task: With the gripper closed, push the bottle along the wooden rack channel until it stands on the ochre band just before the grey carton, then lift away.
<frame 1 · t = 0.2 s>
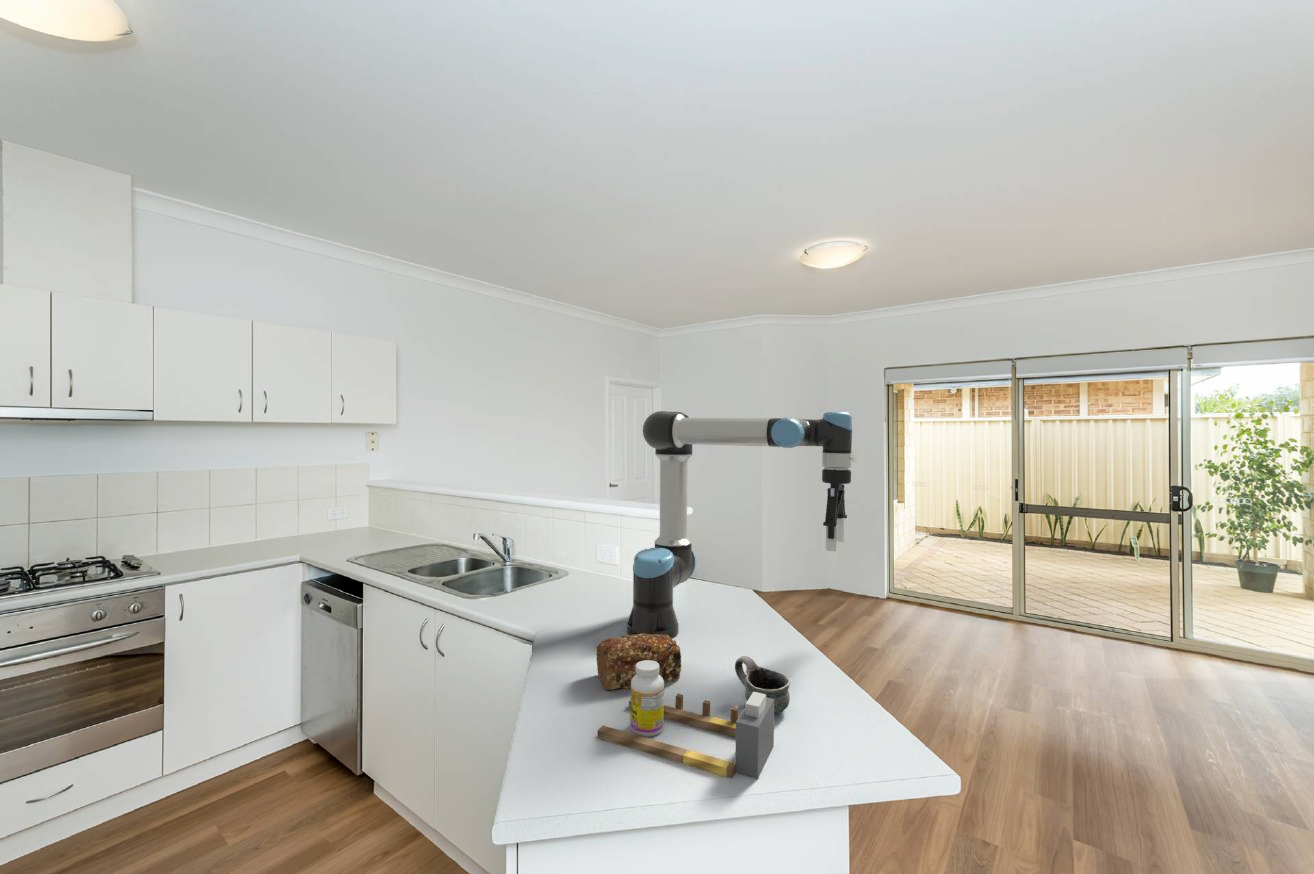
hand: (835, 546, 151), 28 cm above the counter, fingers open, 13 cm apart
grey carton: (755, 759, 100), on the counter
wooden rack: (676, 737, 107), on the counter
mug: (760, 709, 118), on the counter
supplement bottle: (646, 729, 109), on the counter
bread: (638, 679, 132), on the counter
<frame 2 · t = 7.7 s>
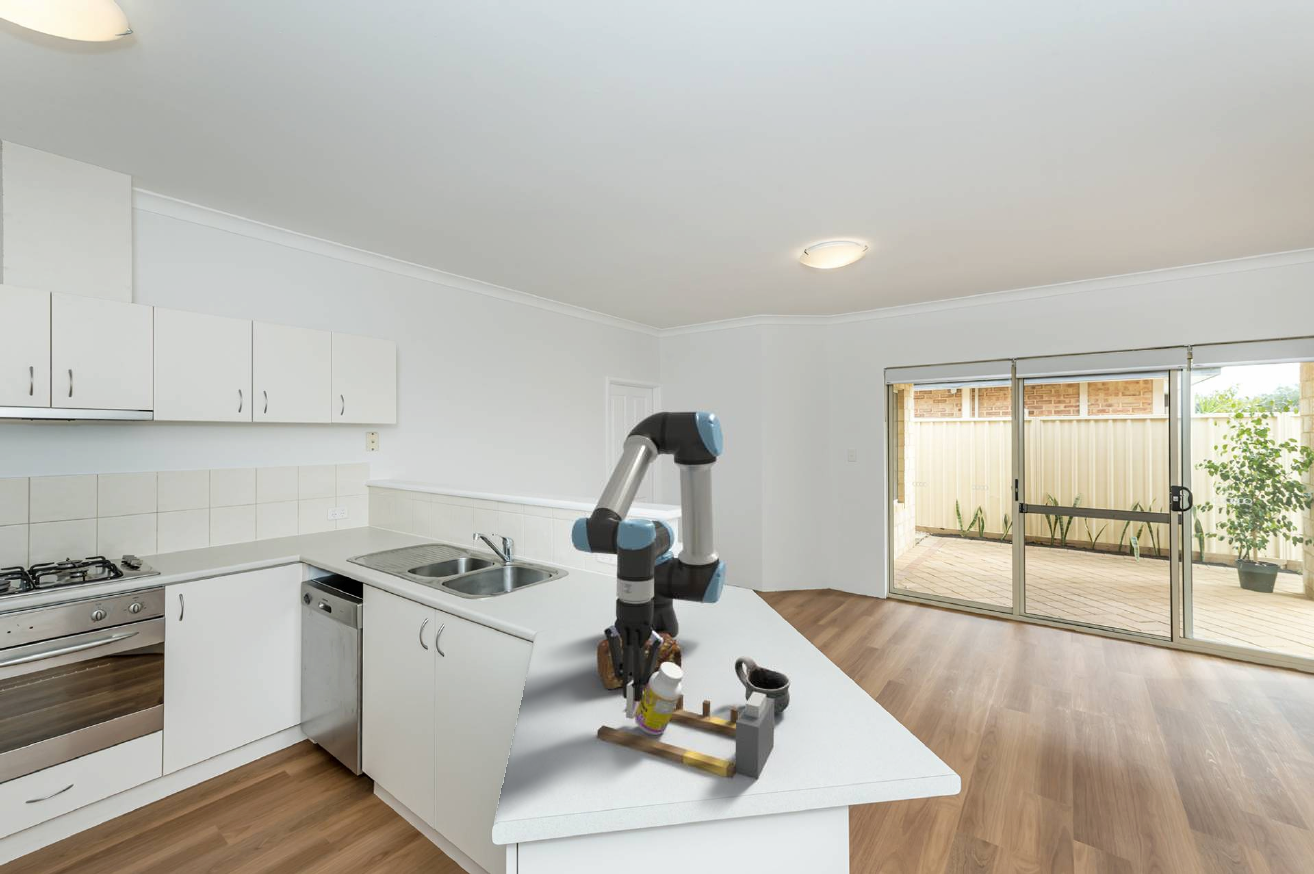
hand: (632, 714, 111), 2 cm above the counter, fingers closed
supplement bottle: (649, 724, 109), point 1 cm above the counter, touching gripper
everything else where it was.
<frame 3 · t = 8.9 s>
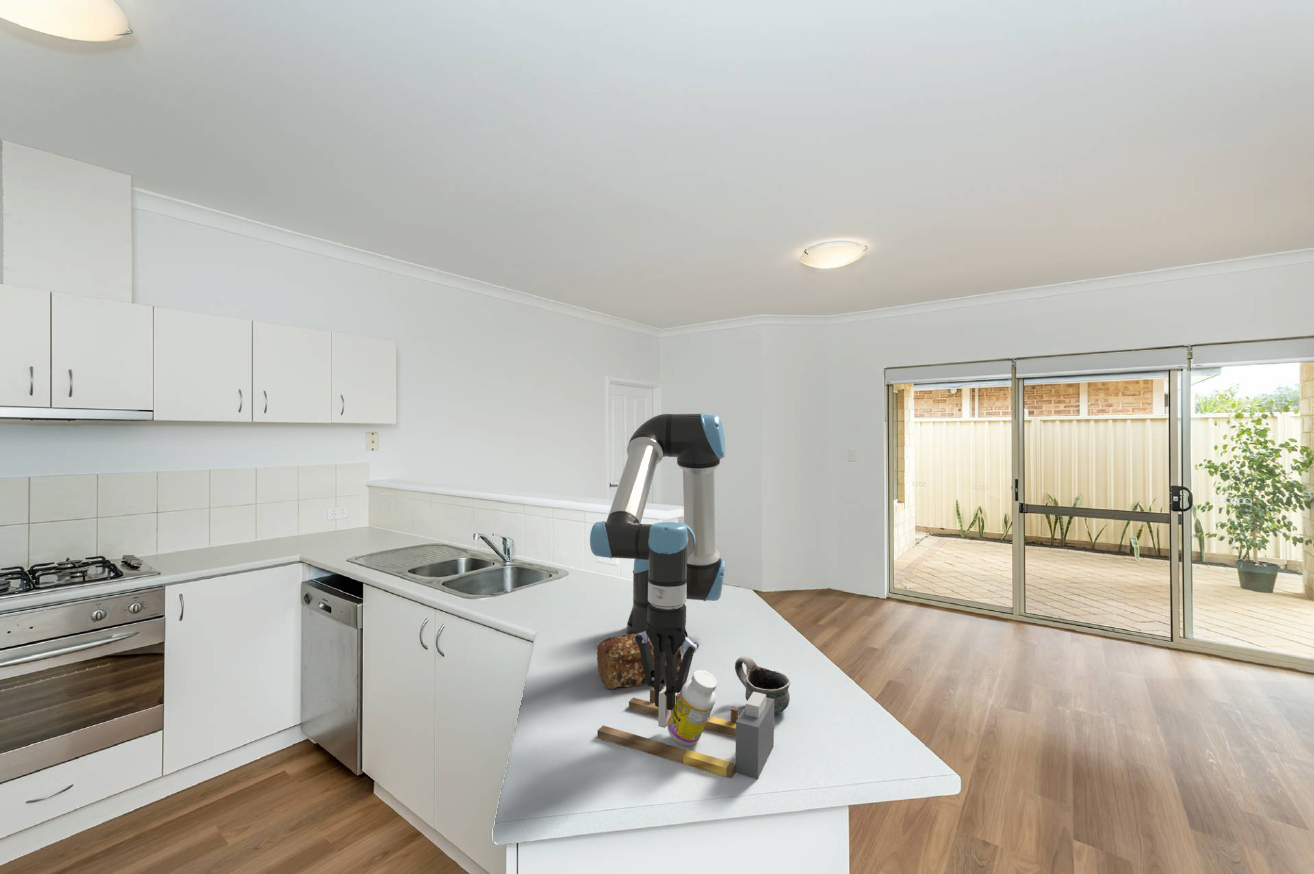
hand: (664, 723, 107), 2 cm above the counter, fingers closed
supplement bottle: (682, 733, 106), point 1 cm above the counter, touching gripper
everything else where it was.
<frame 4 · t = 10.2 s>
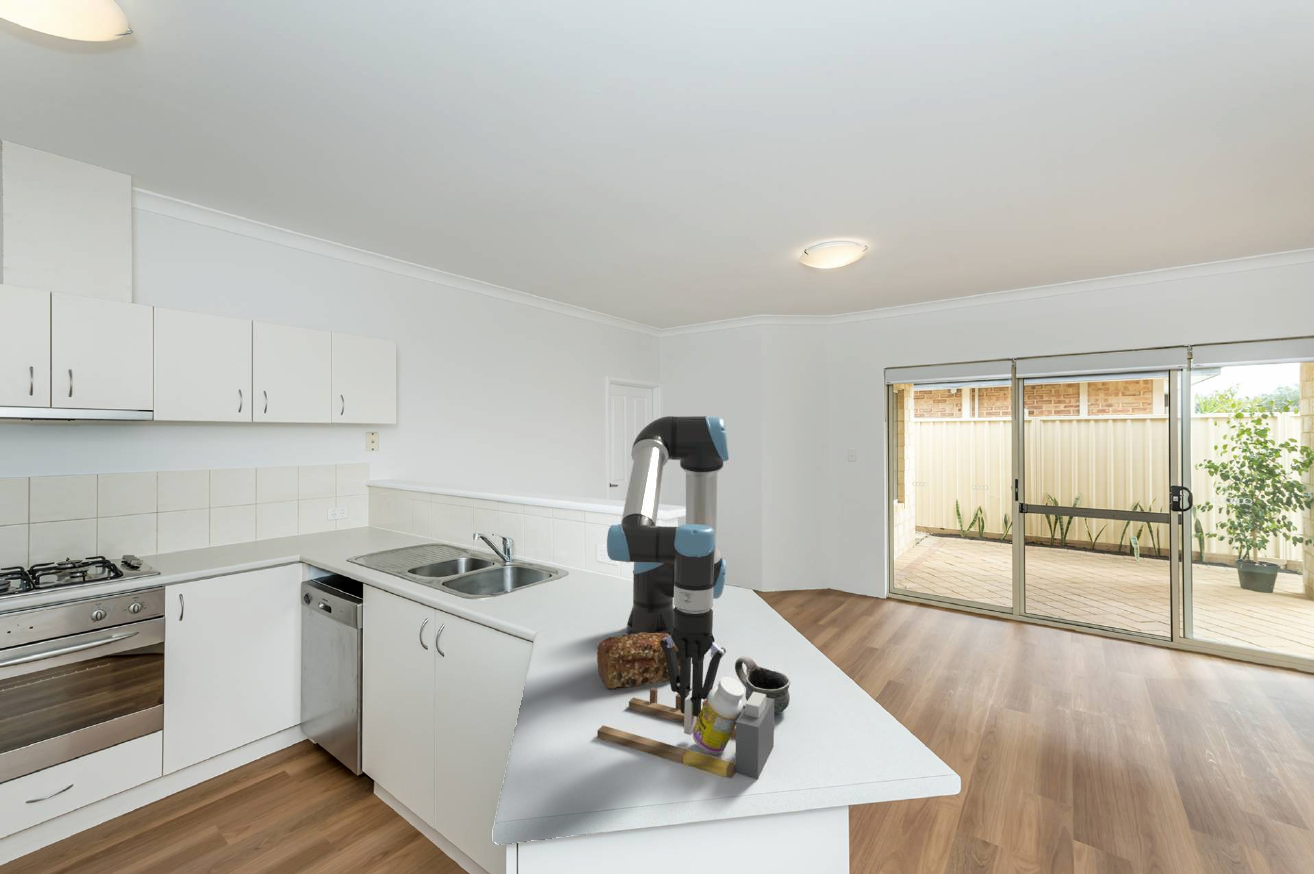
hand: (690, 730, 105), 2 cm above the counter, fingers closed
supplement bottle: (707, 741, 103), point 1 cm above the counter, touching gripper, hand
everything else where it was.
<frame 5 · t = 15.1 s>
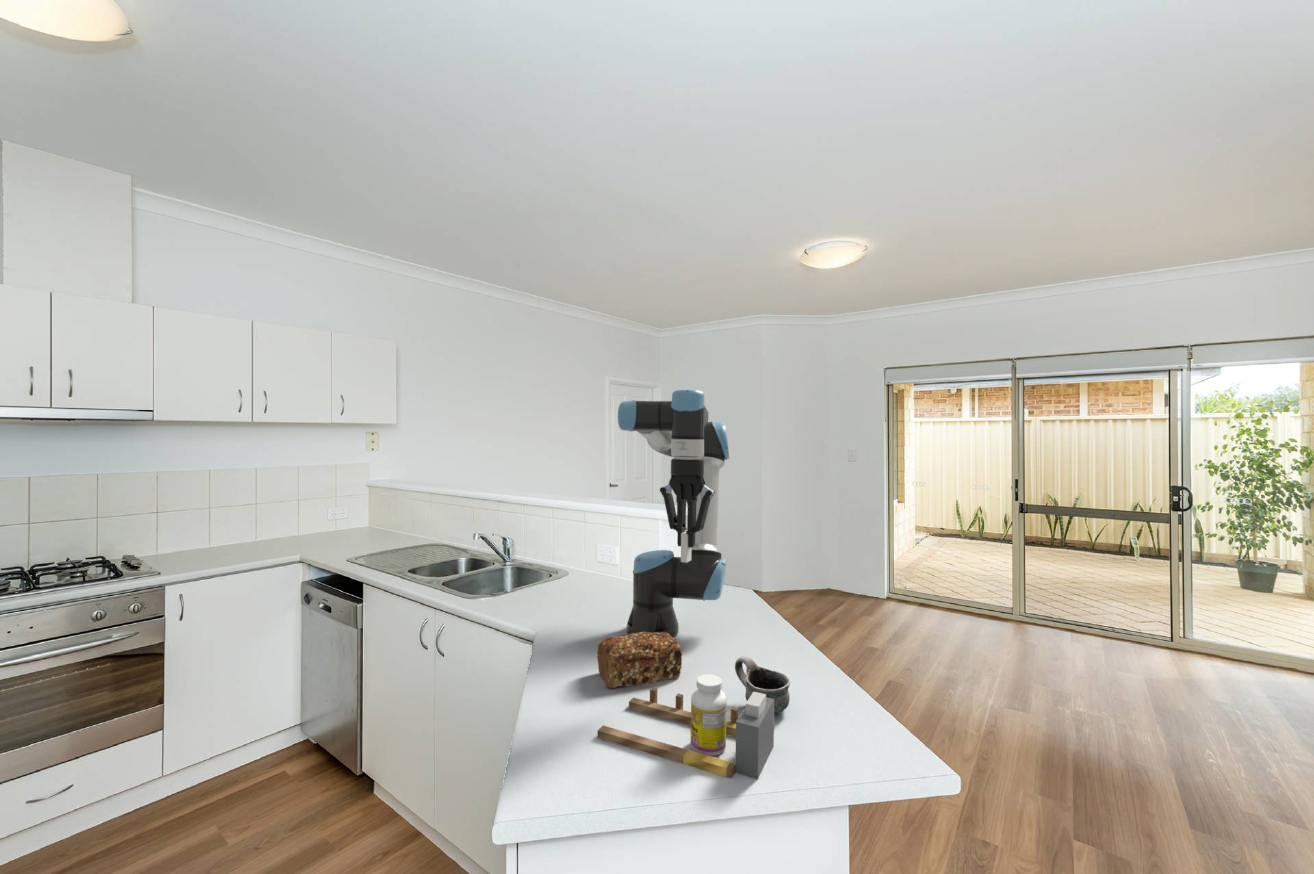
hand: (686, 560, 126), 29 cm above the counter, fingers closed
supplement bottle: (708, 748, 103), on the counter
at the end: supplement bottle inside the target area (1.7 cm from its centre), on the counter; supplement bottle tilted 0°; supplement bottle moved 13.1 cm from its start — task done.
